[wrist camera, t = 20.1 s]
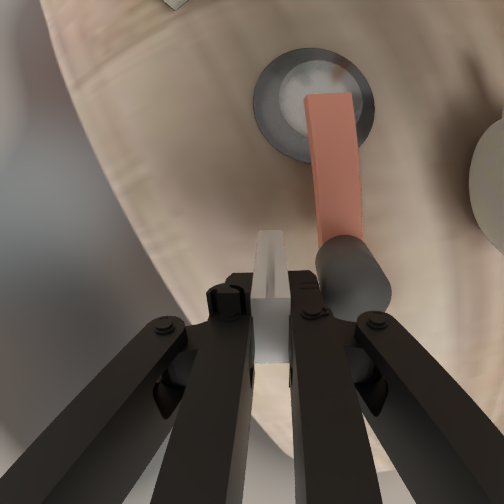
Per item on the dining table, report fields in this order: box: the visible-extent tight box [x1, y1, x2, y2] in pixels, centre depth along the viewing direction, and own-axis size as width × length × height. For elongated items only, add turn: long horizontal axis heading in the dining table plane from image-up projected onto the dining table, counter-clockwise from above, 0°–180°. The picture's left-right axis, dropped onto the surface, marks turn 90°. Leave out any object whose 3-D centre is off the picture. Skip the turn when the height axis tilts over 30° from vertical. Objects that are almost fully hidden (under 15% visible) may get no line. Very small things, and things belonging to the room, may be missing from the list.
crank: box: [303, 92, 392, 322], centre depth 12 cm, size 9×3×6 cm, turn 8°
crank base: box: [253, 48, 375, 163], centre depth 15 cm, size 8×8×4 cm
